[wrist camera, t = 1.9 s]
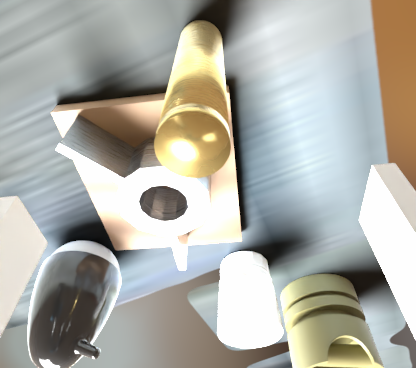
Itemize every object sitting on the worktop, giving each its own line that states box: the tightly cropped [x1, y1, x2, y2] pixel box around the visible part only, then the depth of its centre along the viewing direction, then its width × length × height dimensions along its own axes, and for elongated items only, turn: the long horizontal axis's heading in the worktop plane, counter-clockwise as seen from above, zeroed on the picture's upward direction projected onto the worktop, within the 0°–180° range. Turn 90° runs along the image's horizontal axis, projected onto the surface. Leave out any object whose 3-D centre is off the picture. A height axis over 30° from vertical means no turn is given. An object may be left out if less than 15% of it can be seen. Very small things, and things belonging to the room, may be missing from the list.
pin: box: [154, 20, 231, 178], centre depth 22 cm, size 4×4×16 cm
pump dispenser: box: [28, 240, 122, 368], centre depth 40 cm, size 10×10×15 cm
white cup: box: [218, 251, 283, 348], centre depth 43 cm, size 8×8×10 cm
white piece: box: [56, 114, 211, 270], centre depth 34 cm, size 18×12×5 cm, turn 7°
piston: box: [281, 274, 384, 368], centre depth 47 cm, size 11×12×11 cm
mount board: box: [51, 86, 242, 251], centre depth 37 cm, size 20×16×2 cm
